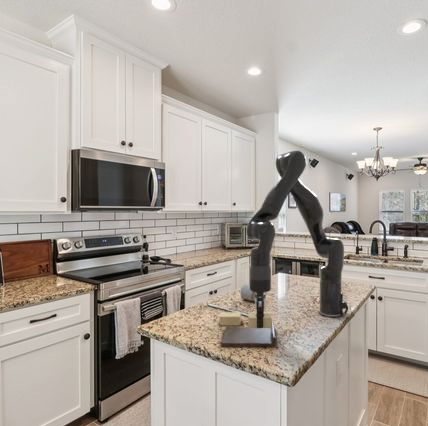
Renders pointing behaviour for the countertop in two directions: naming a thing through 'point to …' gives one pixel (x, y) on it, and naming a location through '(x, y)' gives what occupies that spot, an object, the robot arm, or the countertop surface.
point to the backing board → (249, 337)
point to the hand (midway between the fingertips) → (260, 324)
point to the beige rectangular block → (253, 320)
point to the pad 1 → (230, 318)
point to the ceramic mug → (247, 293)
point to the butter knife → (227, 309)
